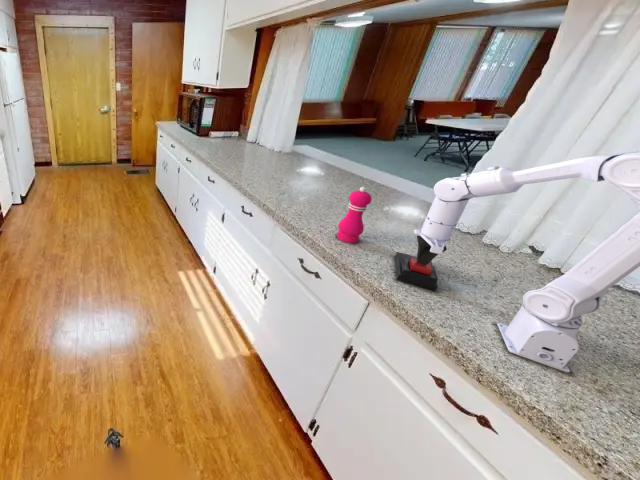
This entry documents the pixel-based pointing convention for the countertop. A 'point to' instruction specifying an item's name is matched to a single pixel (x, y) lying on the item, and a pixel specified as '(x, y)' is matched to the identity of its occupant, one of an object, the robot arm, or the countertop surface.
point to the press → (414, 273)
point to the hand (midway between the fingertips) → (421, 262)
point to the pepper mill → (354, 216)
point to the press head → (420, 266)
